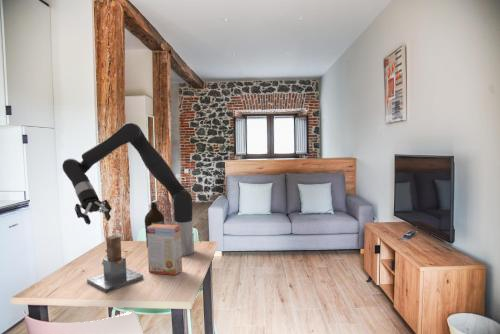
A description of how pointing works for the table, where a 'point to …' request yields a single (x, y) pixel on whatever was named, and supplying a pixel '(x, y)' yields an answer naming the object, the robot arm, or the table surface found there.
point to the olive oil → (153, 217)
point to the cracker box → (164, 249)
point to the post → (113, 247)
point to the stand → (114, 276)
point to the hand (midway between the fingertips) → (99, 221)
